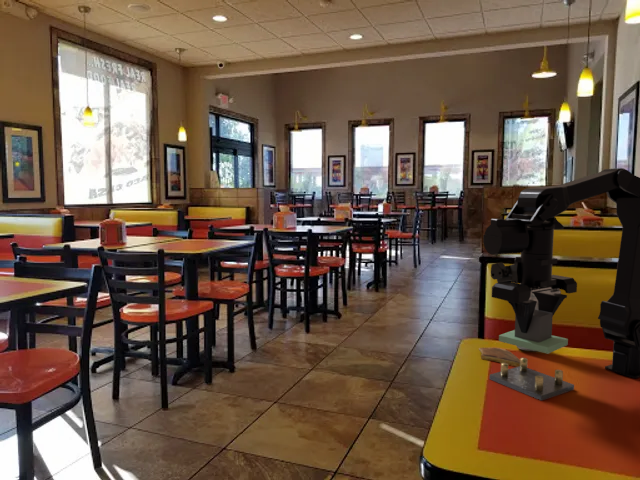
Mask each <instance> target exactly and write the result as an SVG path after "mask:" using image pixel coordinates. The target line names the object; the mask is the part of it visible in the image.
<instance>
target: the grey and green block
mask: <svg viewBox="0 0 640 480" xmlns="http://www.w3.org/2000/svg"><path fill="white" fill-rule="evenodd" d="M553 316H554V315H553V313H551V312H546V311H541V310H534V313H533V316H532V320H531V323H530V326H529V329H528V331H527V333H522V332H521V330H520V327H519V324H518V321H517V318H516V315H514V317H515V318H514V319H515V320H514V329H513V330H510V331H507V332H505V333H502V334H499V335H498V341H499V342H500V343H501V342H502V343H506V344H509V345H512V346H516V347H517V346H520V347H524V348H528V349H532V350H535V351H534V352H539V353H544V354H548V355H549V354H551V353H552V352H555V351H557V350H559V349H561V348H564V347H566V346H568V344H569V343H568V342H569V339H568V338H565V337H561V336H556V335H552V334H553Z"/></svg>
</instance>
